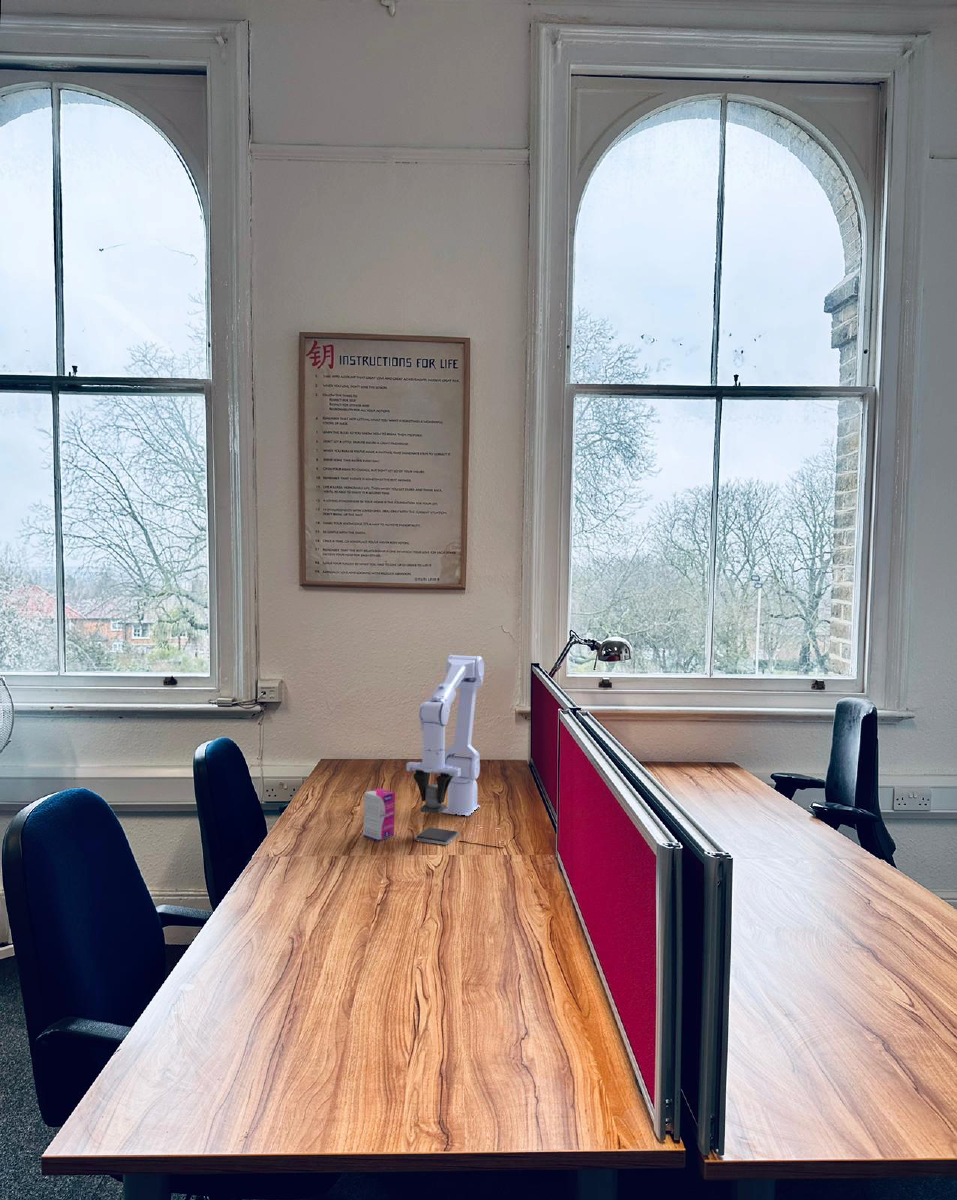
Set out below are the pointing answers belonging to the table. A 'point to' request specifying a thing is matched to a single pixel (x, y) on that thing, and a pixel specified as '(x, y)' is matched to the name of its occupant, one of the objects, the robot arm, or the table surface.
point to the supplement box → (379, 814)
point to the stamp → (432, 800)
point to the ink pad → (436, 836)
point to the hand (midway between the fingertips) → (432, 801)
